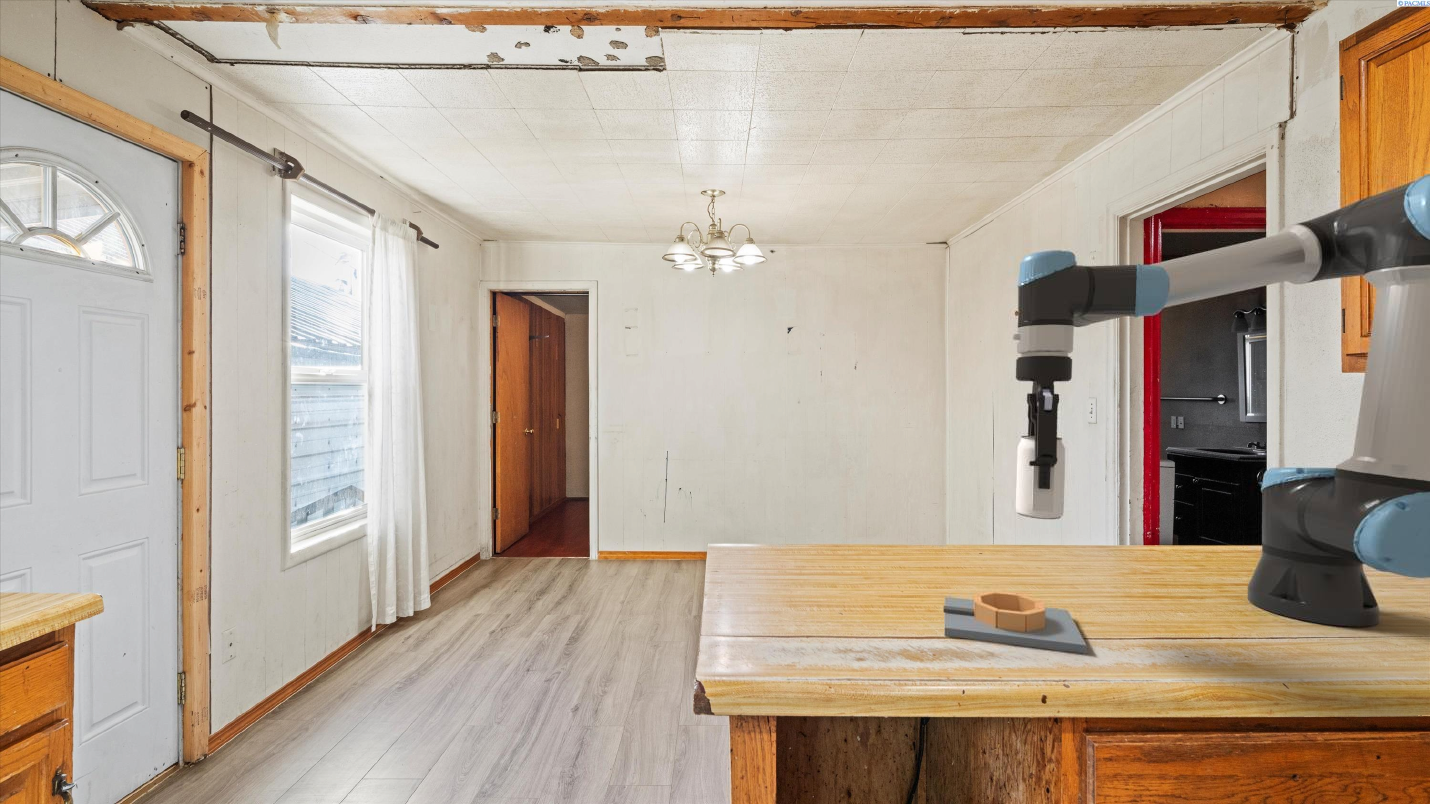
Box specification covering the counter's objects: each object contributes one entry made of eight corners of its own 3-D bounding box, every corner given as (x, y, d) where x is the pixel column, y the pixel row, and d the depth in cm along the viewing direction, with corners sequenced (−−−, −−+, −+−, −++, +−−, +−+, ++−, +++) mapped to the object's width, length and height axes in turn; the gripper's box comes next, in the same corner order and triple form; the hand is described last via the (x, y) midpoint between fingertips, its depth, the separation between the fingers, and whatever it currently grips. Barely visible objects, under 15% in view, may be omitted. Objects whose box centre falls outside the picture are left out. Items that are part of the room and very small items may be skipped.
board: (1067, 617, 95) (1067, 594, 95) (1086, 653, 82) (1086, 626, 82) (943, 603, 102) (943, 581, 102) (943, 635, 89) (943, 610, 89)
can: (1069, 521, 89) (1072, 439, 89) (1021, 518, 91) (1024, 438, 90) (1055, 512, 96) (1057, 436, 95) (1010, 509, 97) (1012, 434, 97)
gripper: (1011, 358, 103) (1007, 494, 103) (1022, 351, 85) (1017, 515, 86) (1061, 358, 100) (1057, 497, 101) (1084, 351, 82) (1079, 520, 83)
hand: (1039, 505), depth 93 cm, fingers closed on can, 6 cm apart
